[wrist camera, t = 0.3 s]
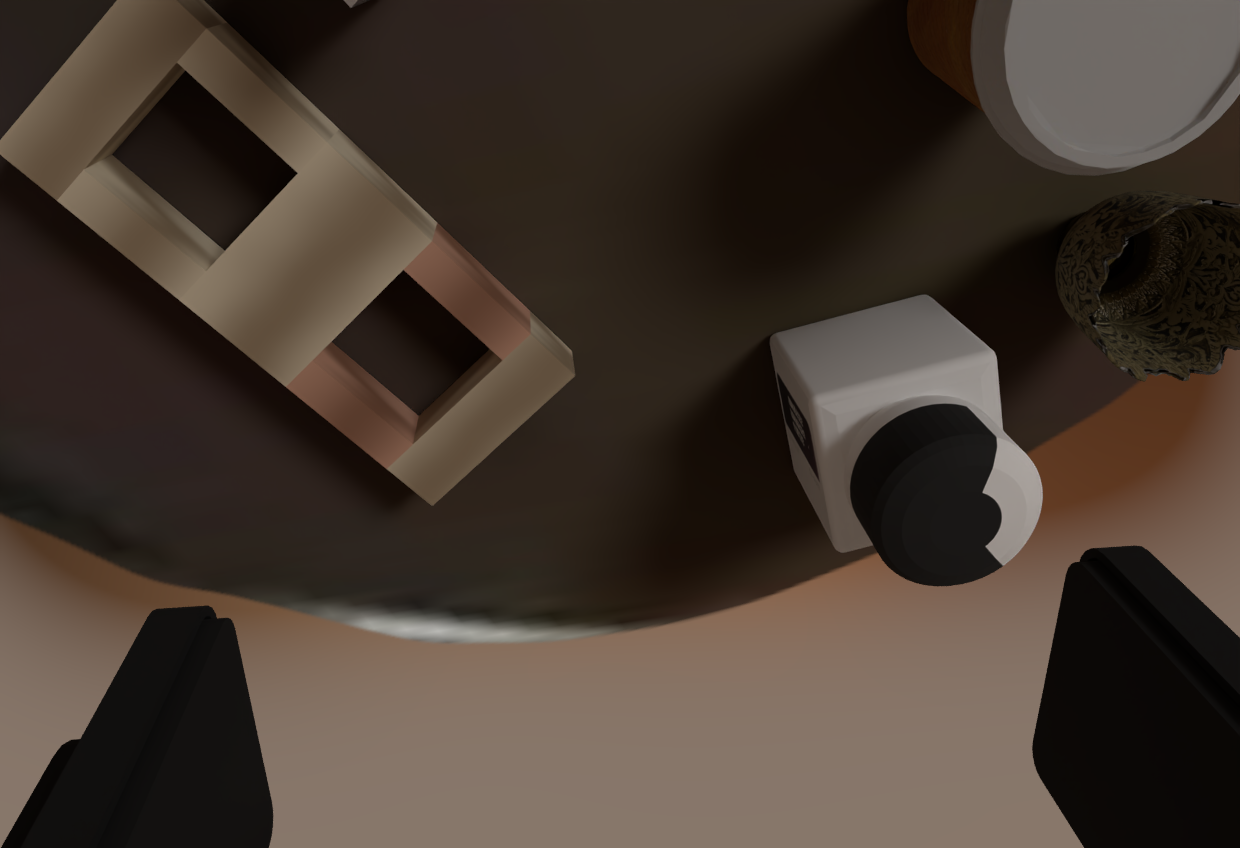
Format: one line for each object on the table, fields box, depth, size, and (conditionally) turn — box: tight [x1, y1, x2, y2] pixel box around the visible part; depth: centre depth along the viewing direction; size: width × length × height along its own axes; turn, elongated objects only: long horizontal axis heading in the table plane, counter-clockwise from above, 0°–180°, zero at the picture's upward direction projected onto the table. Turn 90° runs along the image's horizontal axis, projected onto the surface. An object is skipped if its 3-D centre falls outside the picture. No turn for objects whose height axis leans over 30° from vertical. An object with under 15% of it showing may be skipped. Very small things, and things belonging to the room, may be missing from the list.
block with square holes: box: [0, 0, 575, 506], centre depth 43 cm, size 22×9×3 cm, turn 43°
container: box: [770, 295, 1043, 586], centre depth 43 cm, size 8×8×13 cm
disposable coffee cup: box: [907, 0, 1240, 176], centre depth 37 cm, size 10×10×12 cm
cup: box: [1055, 191, 1240, 381], centre depth 44 cm, size 8×7×8 cm
